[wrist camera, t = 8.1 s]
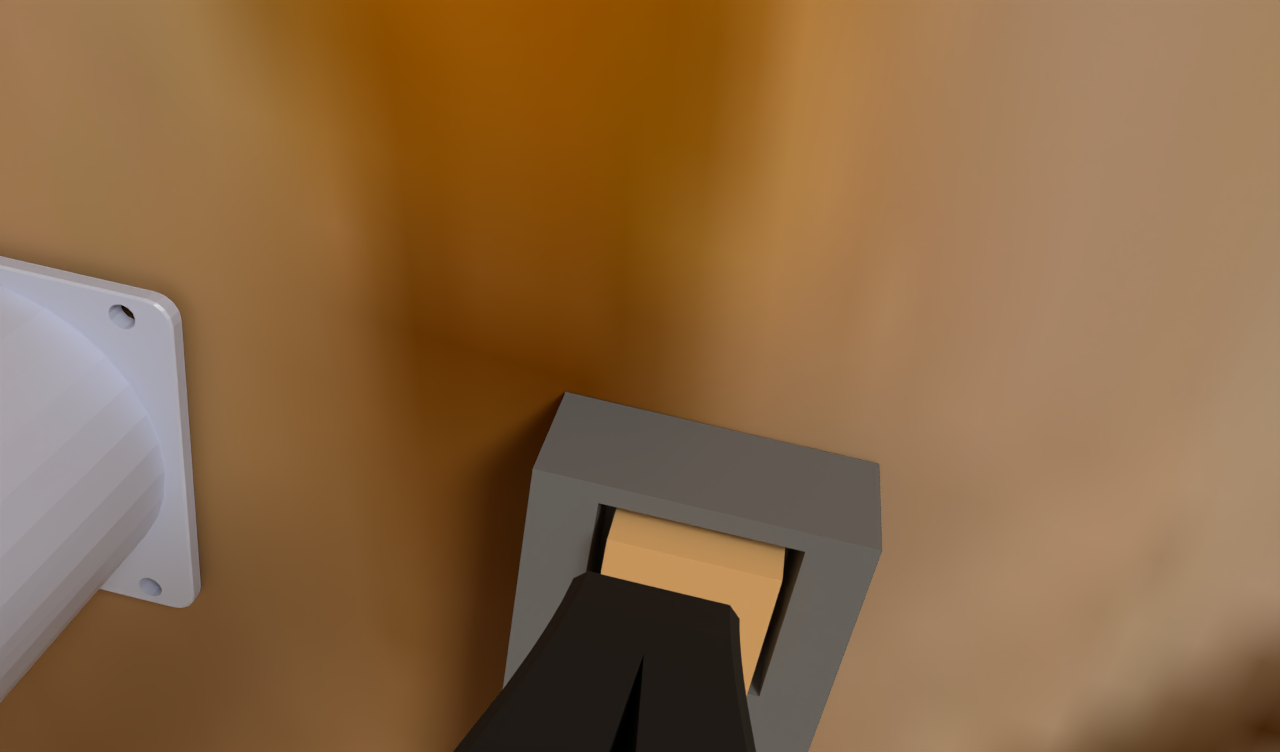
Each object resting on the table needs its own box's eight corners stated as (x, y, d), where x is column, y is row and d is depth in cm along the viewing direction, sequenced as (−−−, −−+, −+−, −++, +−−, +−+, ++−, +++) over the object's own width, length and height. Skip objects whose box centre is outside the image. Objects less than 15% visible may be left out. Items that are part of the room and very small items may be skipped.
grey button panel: (493, 875, 29) (465, 966, 27) (565, 391, 21) (533, 468, 19) (716, 932, 29) (705, 1030, 26) (879, 463, 20) (881, 550, 18)
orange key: (608, 576, 22) (583, 663, 20) (631, 458, 20) (607, 539, 18) (754, 611, 22) (744, 702, 20) (789, 494, 20) (782, 580, 18)
